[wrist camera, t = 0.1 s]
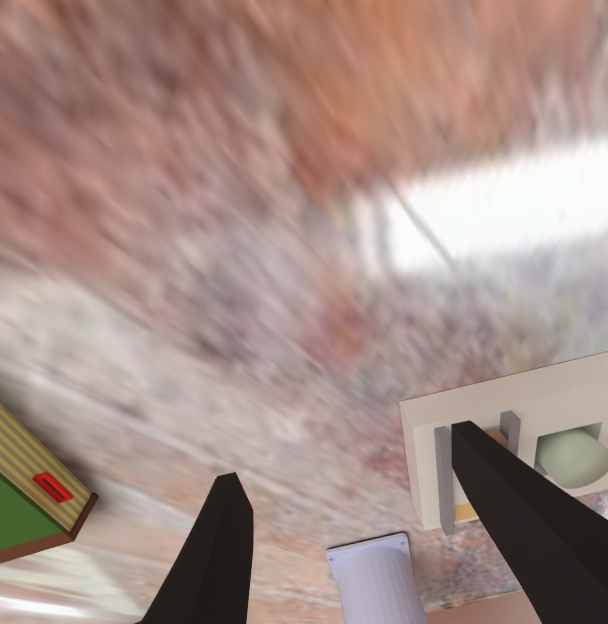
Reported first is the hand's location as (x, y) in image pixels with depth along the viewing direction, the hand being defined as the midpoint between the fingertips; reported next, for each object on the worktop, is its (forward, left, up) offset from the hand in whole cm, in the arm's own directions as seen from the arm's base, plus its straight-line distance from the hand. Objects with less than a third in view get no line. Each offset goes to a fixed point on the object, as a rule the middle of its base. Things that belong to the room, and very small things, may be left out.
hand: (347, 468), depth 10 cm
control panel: (-14, -16, -10) cm, 23 cm away
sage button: (-14, -16, -8) cm, 23 cm away
